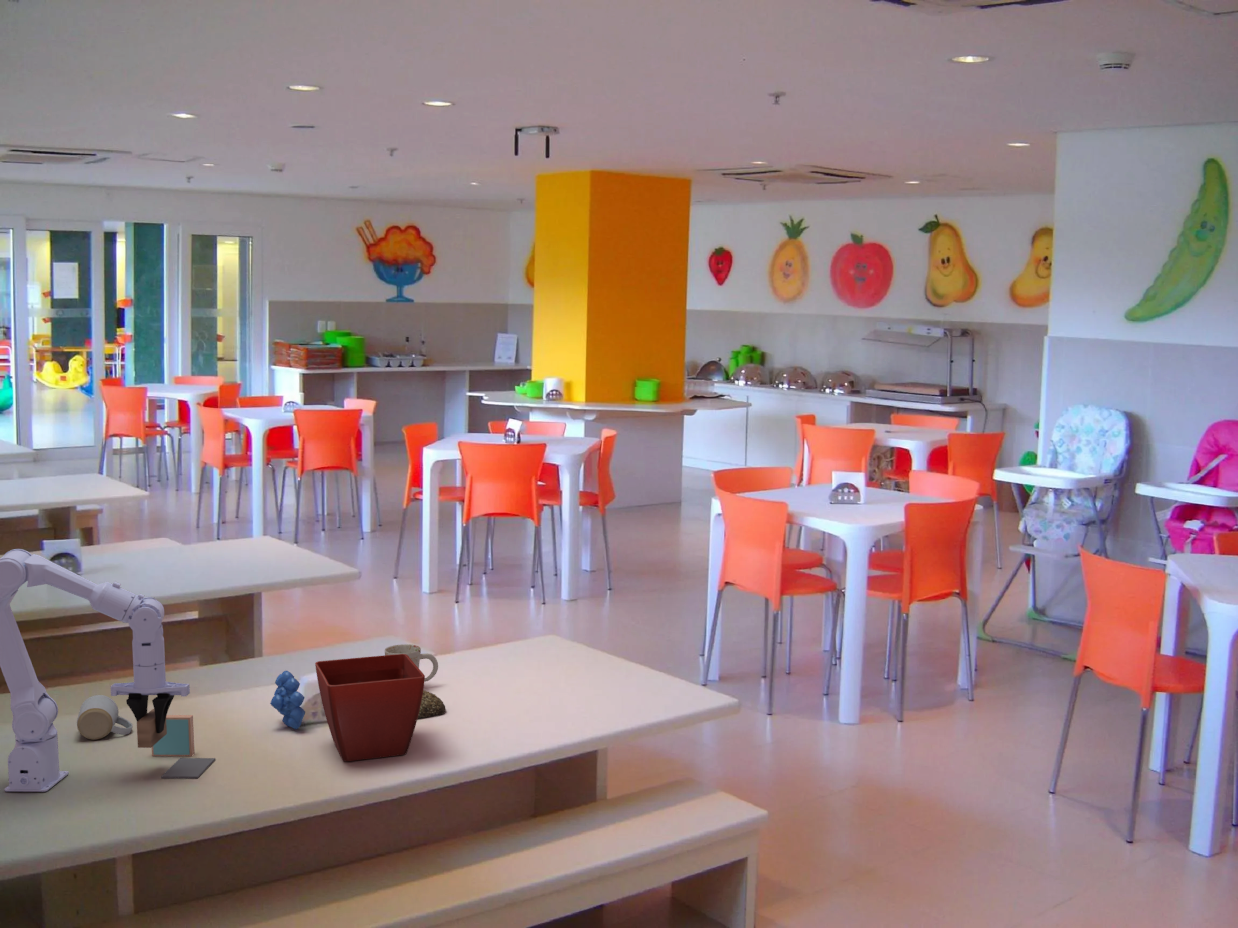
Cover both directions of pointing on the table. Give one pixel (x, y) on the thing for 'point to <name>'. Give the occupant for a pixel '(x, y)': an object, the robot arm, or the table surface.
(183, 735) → the picture frame
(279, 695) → the grapes
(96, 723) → the ceramic mug
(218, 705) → the table surface
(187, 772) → the mat
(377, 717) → the plant pot
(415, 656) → the mug
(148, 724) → the bronze rectangular prism
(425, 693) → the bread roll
